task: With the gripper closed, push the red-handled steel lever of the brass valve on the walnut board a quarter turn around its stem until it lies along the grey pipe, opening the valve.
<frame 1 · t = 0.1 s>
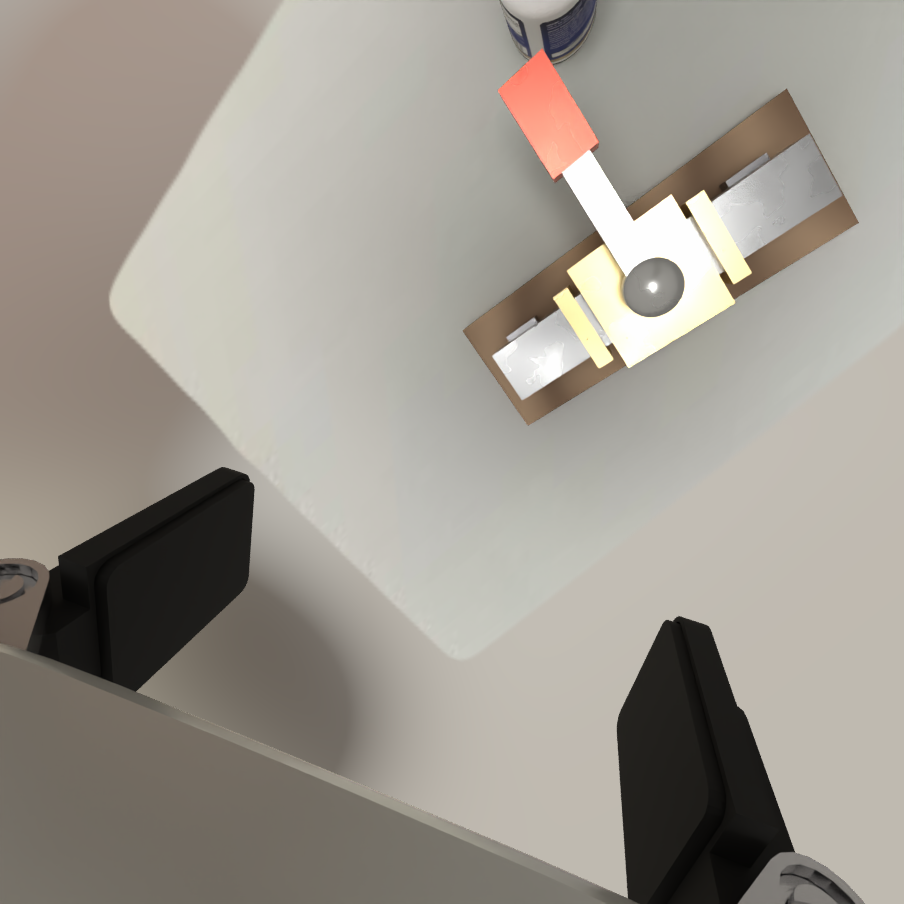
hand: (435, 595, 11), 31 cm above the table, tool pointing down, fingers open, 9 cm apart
pill bottle: (552, 17, 32), on the table
mount board: (635, 282, 36), on the table
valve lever: (596, 198, 26), point 10 cm above the table, hinge at -90.0°
valve: (642, 284, 31), on the mount board, point 5 cm above the table
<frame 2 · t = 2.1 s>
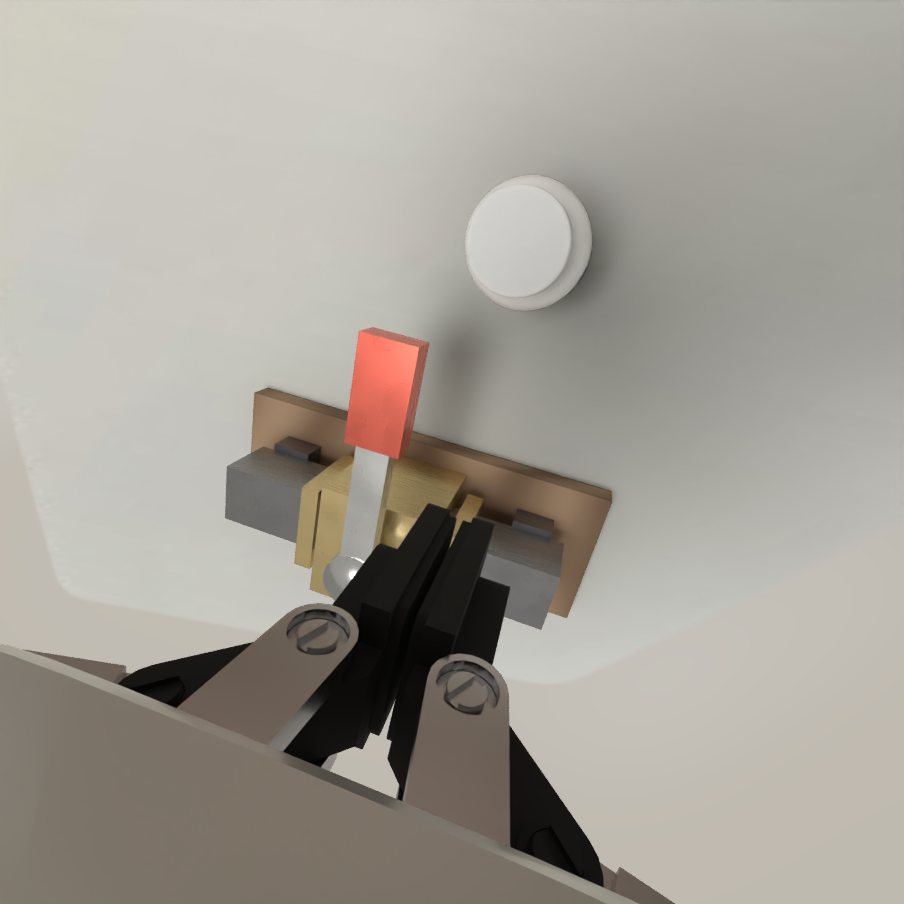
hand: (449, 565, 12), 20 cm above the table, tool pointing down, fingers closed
pill bottle: (541, 250, 28), on the table
mount board: (417, 495, 35), on the table
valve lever: (373, 481, 24), point 10 cm above the table, hinge at -90.0°
valve: (391, 529, 30), on the mount board, point 5 cm above the table
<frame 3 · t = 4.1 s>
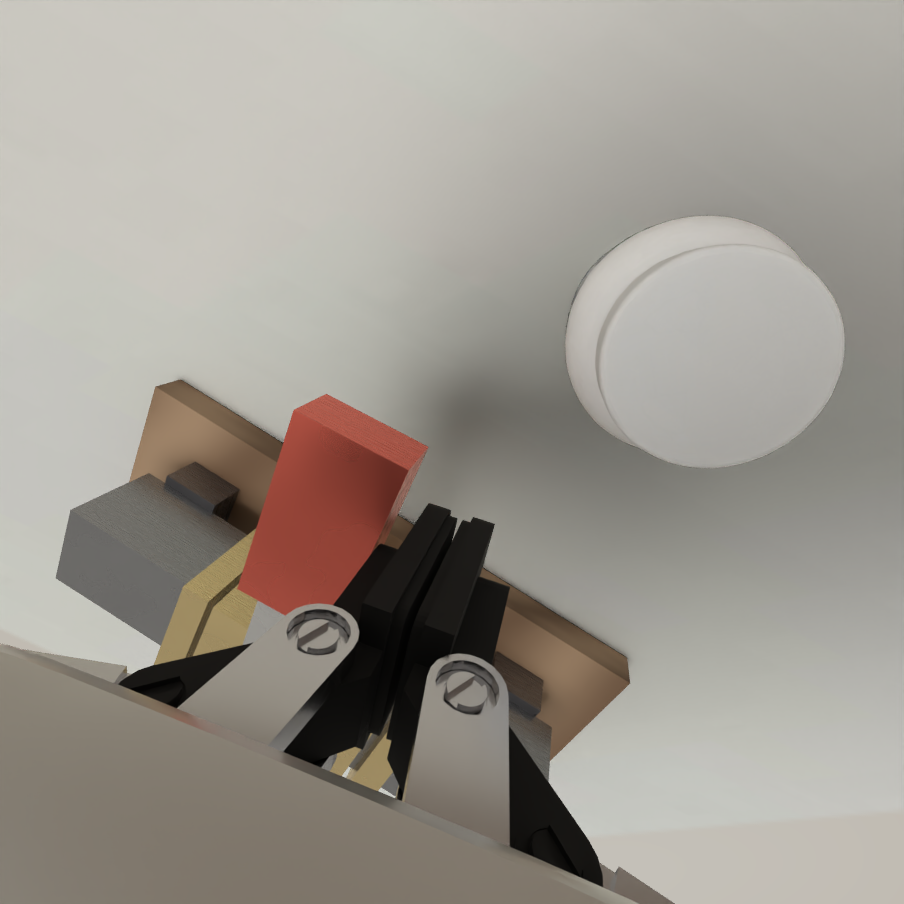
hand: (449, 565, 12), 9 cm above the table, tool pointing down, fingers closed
pill bottle: (648, 317, 18), on the table
mount board: (361, 583, 25), on the table
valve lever: (285, 641, 14), point 10 cm above the table, hinge at -85.3°, touching gripper
valve: (312, 653, 20), on the mount board, point 5 cm above the table
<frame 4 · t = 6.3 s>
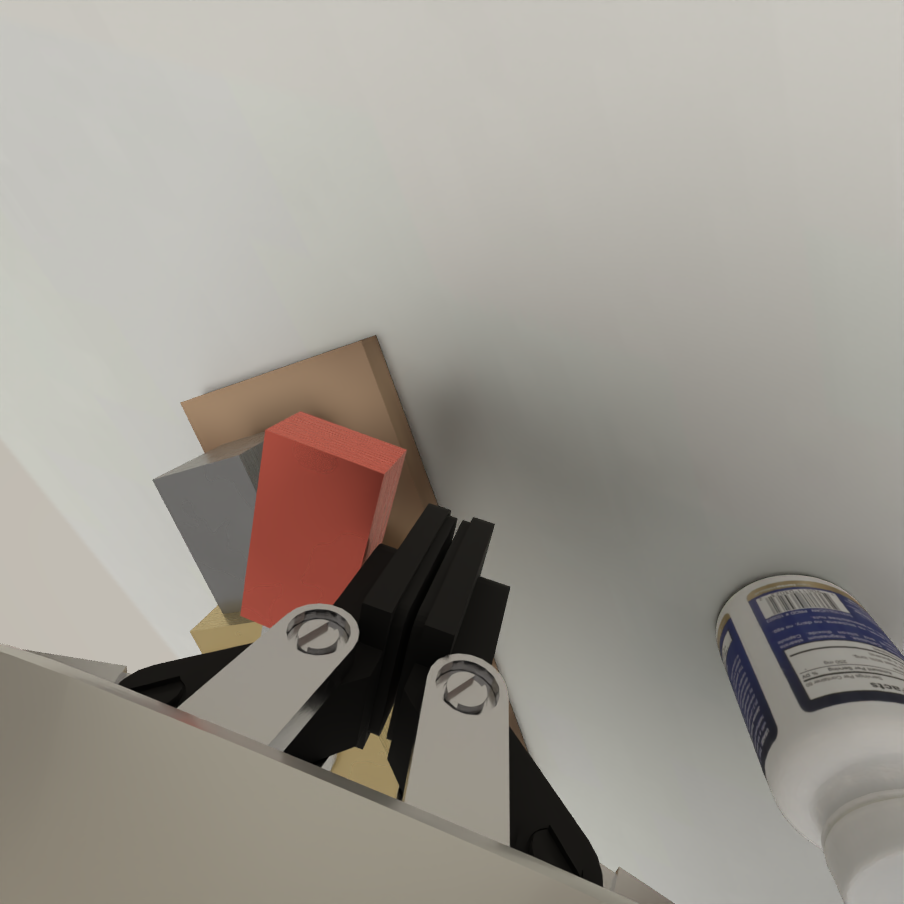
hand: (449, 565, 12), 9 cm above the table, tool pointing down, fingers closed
pill bottle: (784, 624, 20), on the table
mount board: (382, 600, 25), on the table
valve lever: (298, 663, 14), point 10 cm above the table, hinge at -34.9°, touching gripper
valve: (339, 675, 20), on the mount board, point 5 cm above the table
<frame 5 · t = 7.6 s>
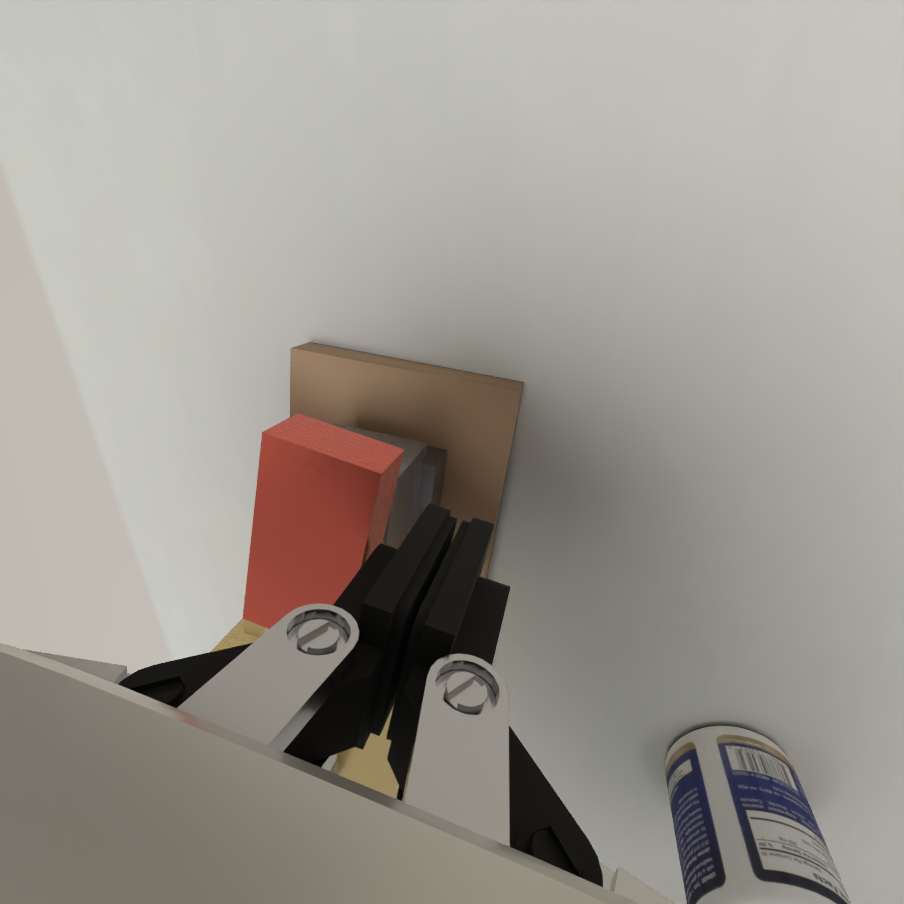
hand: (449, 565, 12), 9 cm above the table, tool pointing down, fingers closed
pill bottle: (725, 762, 24), on the table
mount board: (388, 602, 25), on the table
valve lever: (302, 665, 14), point 10 cm above the table, hinge at -6.9°, touching gripper
valve: (345, 677, 20), on the mount board, point 5 cm above the table
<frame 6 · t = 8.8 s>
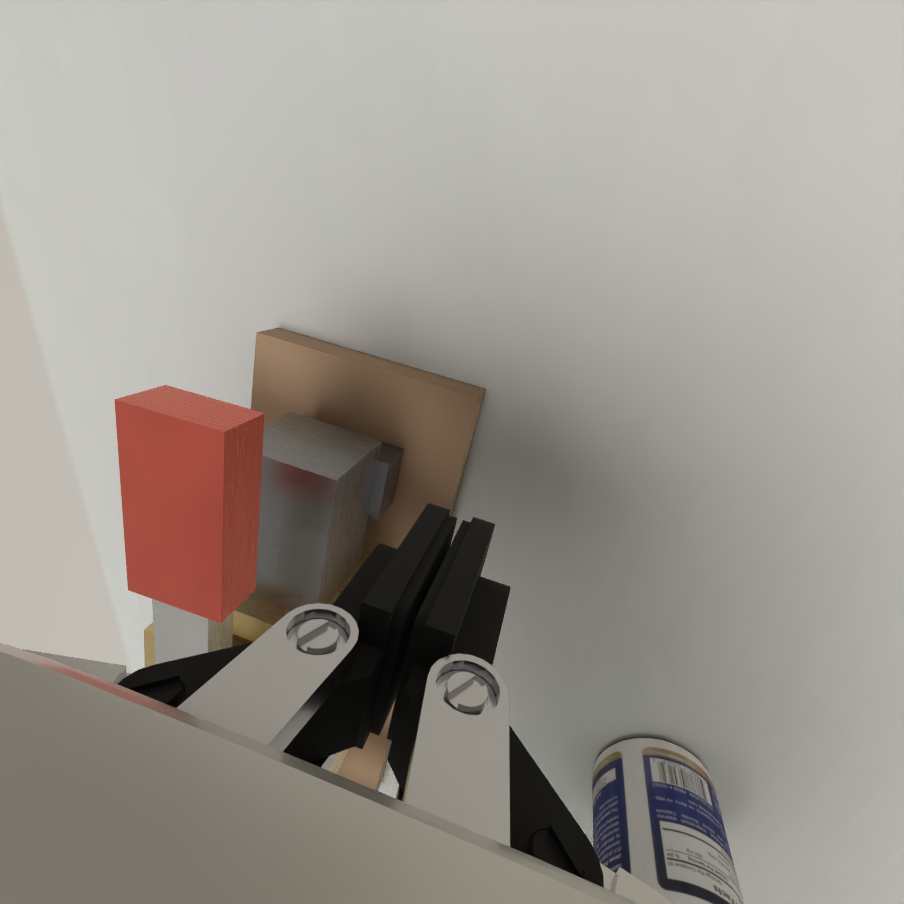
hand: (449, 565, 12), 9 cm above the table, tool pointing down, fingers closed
pill bottle: (650, 772, 24), on the table
mount board: (338, 592, 25), on the table
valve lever: (203, 639, 14), point 10 cm above the table, hinge at 2.0°
valve: (284, 663, 20), on the mount board, point 5 cm above the table
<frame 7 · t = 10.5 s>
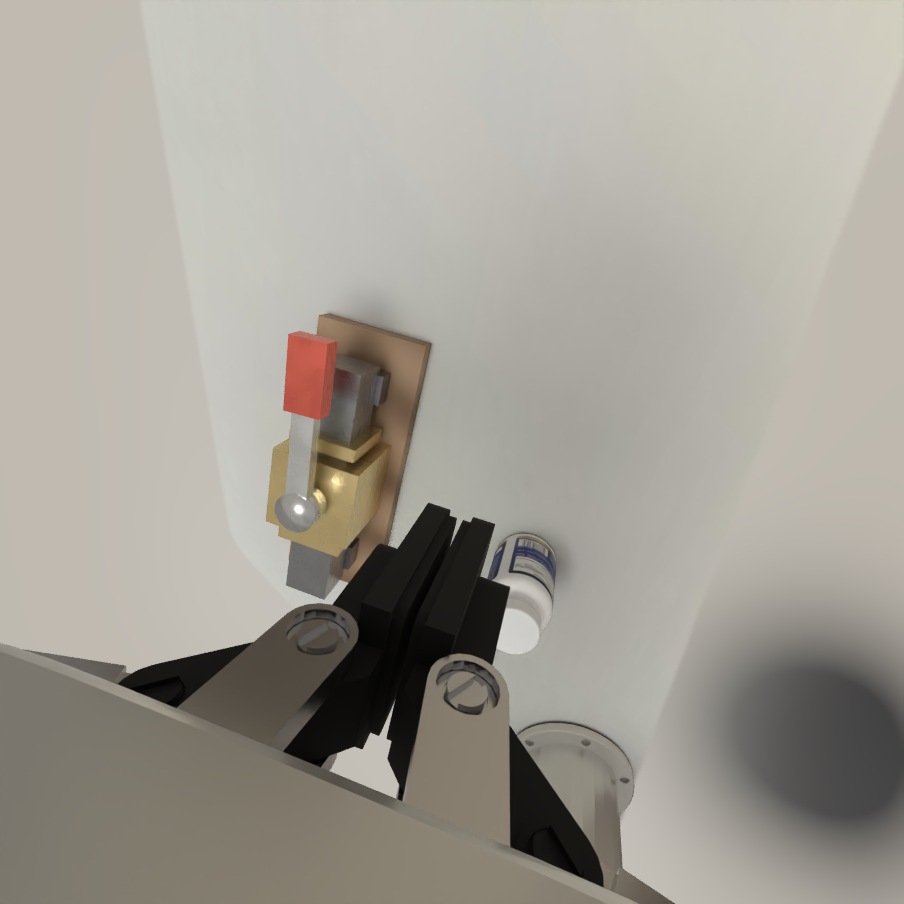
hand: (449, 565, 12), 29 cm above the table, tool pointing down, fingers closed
pill bottle: (526, 557, 45), on the table
mount board: (356, 460, 45), on the table
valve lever: (306, 438, 34), point 10 cm above the table, hinge at 2.0°
valve: (330, 481, 41), on the mount board, point 5 cm above the table
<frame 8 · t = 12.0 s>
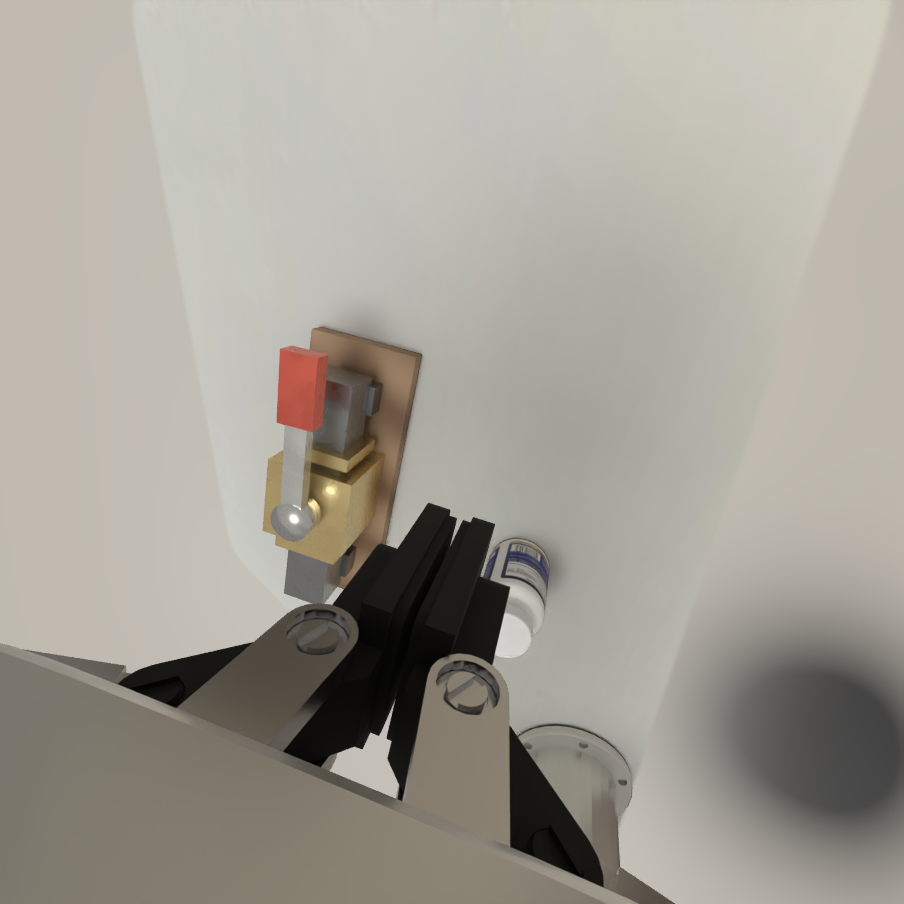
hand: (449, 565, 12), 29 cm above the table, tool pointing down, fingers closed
pill bottle: (519, 562, 45), on the table
mount board: (351, 469, 46), on the table
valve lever: (300, 449, 35), point 10 cm above the table, hinge at 2.0°
valve: (326, 491, 42), on the mount board, point 5 cm above the table
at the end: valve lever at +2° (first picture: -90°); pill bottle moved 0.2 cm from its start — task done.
